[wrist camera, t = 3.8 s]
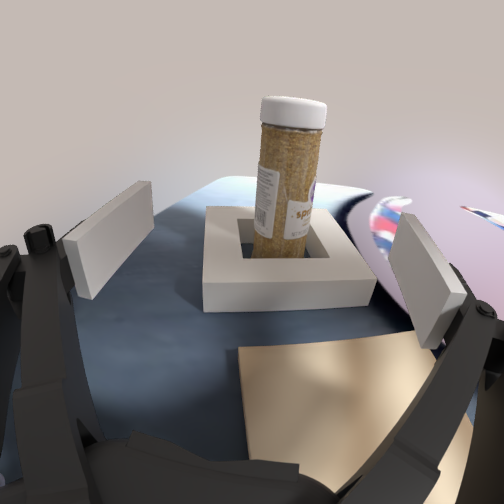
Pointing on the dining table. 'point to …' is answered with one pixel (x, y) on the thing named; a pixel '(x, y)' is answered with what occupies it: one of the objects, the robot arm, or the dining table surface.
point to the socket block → (280, 267)
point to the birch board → (339, 405)
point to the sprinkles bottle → (286, 175)
